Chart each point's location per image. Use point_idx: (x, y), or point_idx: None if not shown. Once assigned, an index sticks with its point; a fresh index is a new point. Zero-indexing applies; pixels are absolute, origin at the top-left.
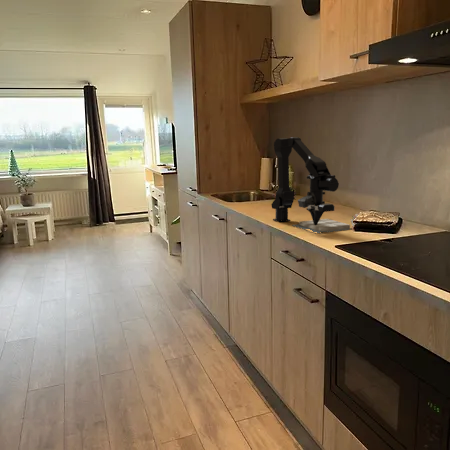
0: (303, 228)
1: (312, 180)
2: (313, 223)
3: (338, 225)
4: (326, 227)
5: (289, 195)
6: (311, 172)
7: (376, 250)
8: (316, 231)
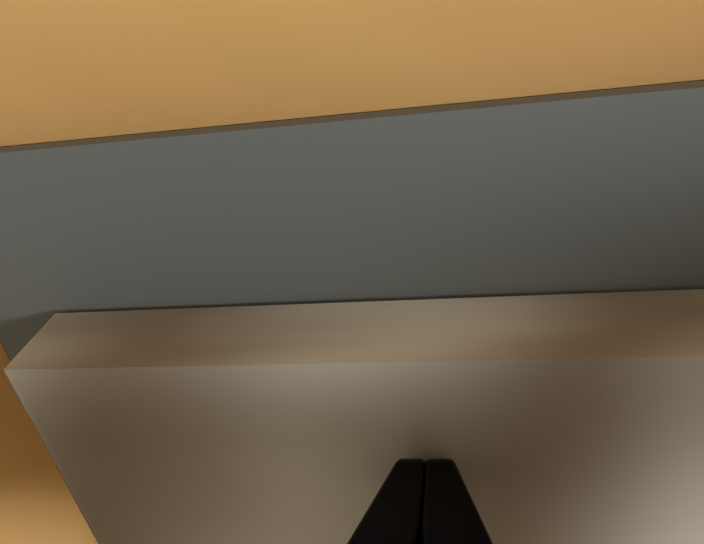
0: (577, 117)
1: None
2: (630, 522)
3: None
4: (78, 503)
5: None
6: None
7: None
8: (88, 248)
